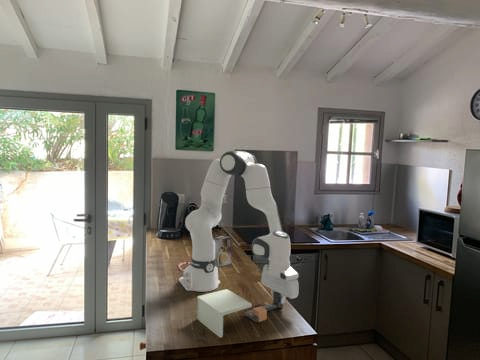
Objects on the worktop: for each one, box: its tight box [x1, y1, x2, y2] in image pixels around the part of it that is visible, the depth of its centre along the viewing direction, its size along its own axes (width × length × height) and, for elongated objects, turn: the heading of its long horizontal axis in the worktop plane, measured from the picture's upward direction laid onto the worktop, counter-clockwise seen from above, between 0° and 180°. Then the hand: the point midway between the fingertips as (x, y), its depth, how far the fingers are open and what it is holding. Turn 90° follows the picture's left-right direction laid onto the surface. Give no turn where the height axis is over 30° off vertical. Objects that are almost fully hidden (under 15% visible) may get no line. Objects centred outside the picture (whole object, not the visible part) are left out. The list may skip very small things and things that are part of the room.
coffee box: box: [212, 235, 232, 268], centre depth 210 cm, size 9×6×16 cm
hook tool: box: [244, 292, 284, 323], centre depth 148 cm, size 8×18×6 cm, turn 125°
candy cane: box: [177, 261, 191, 273], centre depth 203 cm, size 8×1×15 cm
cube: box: [252, 305, 268, 323], centre depth 143 cm, size 4×4×4 cm
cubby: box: [196, 288, 253, 339], centre depth 139 cm, size 17×14×9 cm
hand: (278, 301), depth 154 cm, fingers closed on hook tool, 3 cm apart
